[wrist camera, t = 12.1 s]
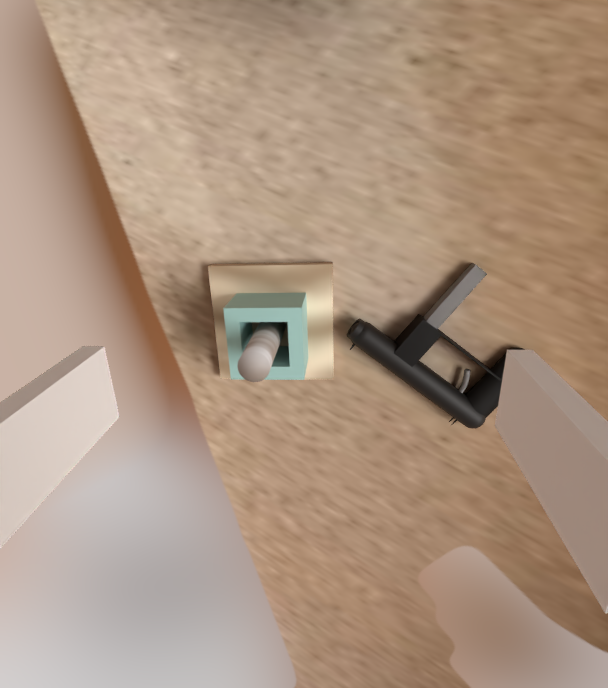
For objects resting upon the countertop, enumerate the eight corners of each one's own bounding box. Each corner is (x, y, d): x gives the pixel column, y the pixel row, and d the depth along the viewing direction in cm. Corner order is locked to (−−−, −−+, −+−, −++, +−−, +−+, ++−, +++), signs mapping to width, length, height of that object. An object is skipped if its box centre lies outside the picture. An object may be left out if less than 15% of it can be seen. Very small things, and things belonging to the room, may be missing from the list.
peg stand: (210, 264, 50) (168, 293, 38) (332, 262, 49) (329, 291, 36) (222, 374, 55) (188, 431, 43) (333, 375, 54) (331, 434, 42)
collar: (236, 293, 50) (223, 308, 44) (306, 292, 49) (301, 307, 43) (242, 357, 53) (230, 379, 47) (308, 357, 52) (304, 379, 46)
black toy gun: (436, 231, 45) (339, 348, 49) (573, 343, 48) (470, 443, 52) (428, 229, 48) (338, 339, 52) (557, 334, 51) (462, 429, 55)
